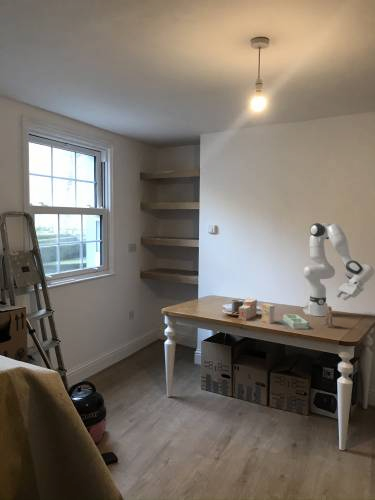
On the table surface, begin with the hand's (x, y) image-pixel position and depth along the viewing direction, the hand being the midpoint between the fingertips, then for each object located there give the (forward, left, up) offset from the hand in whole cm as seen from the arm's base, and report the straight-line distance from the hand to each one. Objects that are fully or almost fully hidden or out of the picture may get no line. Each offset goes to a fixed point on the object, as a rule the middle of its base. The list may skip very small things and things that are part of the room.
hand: (340, 298), depth 266 cm
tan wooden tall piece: (0, -8, -20) cm, 21 cm away
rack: (-6, -30, -20) cm, 36 cm away
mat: (-6, -30, -20) cm, 36 cm away
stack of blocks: (-28, -59, -20) cm, 68 cm away
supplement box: (-12, -48, -20) cm, 53 cm away
